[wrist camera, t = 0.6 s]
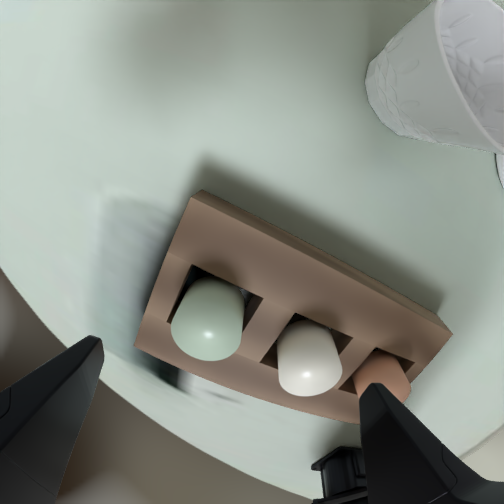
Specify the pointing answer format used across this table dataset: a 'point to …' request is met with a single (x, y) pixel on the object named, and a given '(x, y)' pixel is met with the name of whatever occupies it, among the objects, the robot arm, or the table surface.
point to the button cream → (307, 359)
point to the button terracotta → (382, 374)
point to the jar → (500, 167)
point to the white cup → (444, 76)
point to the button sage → (209, 319)
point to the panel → (284, 307)
